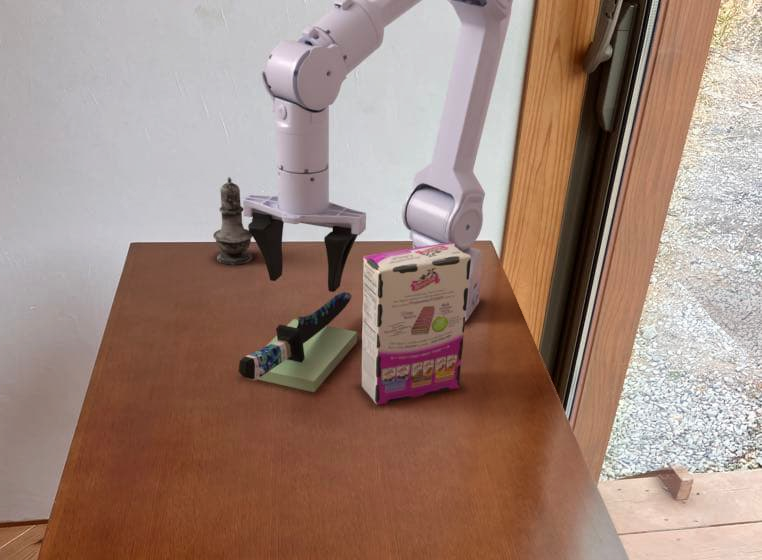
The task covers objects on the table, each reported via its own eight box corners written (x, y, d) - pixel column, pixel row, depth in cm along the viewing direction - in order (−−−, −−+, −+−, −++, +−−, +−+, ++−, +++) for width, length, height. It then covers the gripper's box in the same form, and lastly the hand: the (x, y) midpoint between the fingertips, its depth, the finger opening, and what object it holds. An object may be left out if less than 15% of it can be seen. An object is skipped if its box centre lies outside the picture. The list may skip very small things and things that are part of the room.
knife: (248, 399, 98) (249, 361, 95) (225, 392, 99) (225, 354, 96) (367, 319, 121) (370, 287, 119) (347, 314, 122) (350, 282, 120)
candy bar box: (440, 370, 110) (452, 239, 99) (459, 389, 106) (474, 256, 96) (357, 386, 106) (361, 253, 96) (375, 407, 103) (381, 270, 92)
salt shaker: (210, 263, 133) (203, 181, 126) (221, 249, 138) (215, 169, 130) (248, 267, 133) (243, 185, 125) (258, 252, 137) (254, 172, 130)
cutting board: (356, 342, 115) (357, 331, 114) (314, 392, 105) (314, 381, 104) (293, 329, 117) (293, 318, 116) (245, 377, 107) (245, 366, 106)
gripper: (227, 167, 97) (235, 285, 106) (351, 185, 93) (348, 306, 102) (255, 149, 102) (261, 263, 111) (374, 166, 98) (370, 283, 107)
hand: (304, 283), depth 107 cm, fingers open, 7 cm apart
